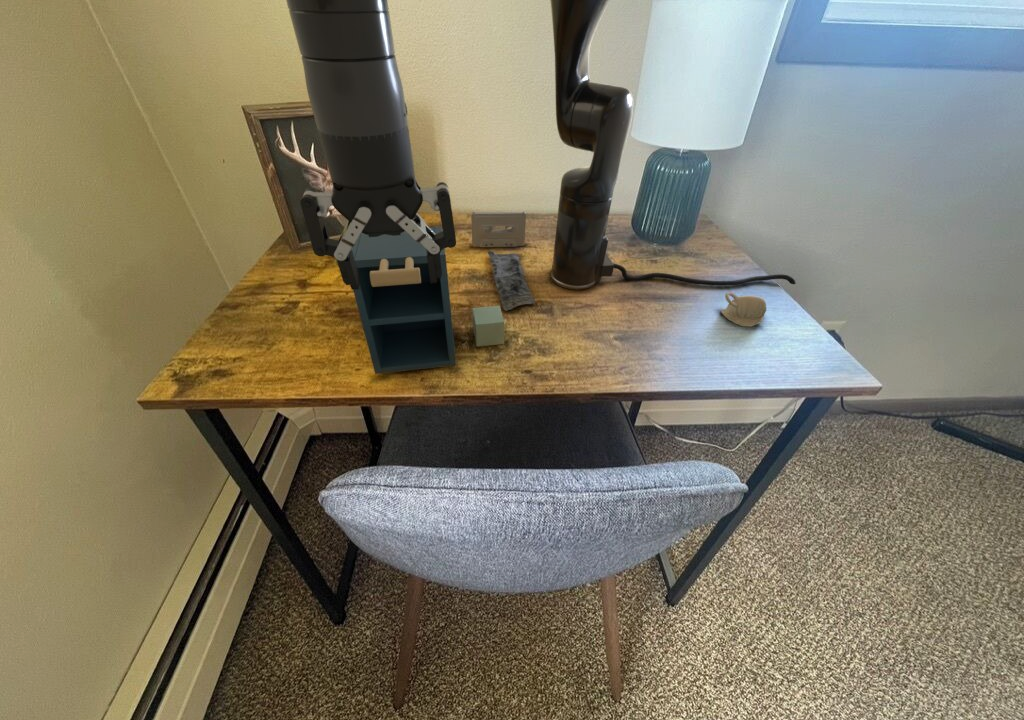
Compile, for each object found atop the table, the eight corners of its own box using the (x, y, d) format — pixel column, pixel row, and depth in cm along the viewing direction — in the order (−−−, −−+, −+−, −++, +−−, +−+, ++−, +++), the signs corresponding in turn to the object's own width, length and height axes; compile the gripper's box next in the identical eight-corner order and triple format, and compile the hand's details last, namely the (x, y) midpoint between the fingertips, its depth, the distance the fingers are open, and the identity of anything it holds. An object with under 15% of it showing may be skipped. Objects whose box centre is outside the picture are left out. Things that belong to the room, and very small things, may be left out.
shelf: (353, 227, 56) (338, 277, 45) (441, 222, 58) (447, 269, 46) (379, 335, 68) (372, 397, 56) (451, 329, 69) (459, 387, 58)
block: (499, 327, 70) (499, 305, 67) (504, 344, 67) (504, 322, 64) (473, 329, 70) (472, 307, 67) (476, 346, 66) (475, 324, 63)
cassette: (472, 247, 91) (470, 214, 86) (472, 244, 93) (470, 211, 87) (524, 247, 92) (526, 214, 87) (524, 243, 94) (525, 210, 88)
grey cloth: (536, 309, 74) (536, 300, 73) (499, 312, 74) (499, 302, 72) (518, 256, 90) (518, 247, 88) (487, 257, 89) (487, 248, 87)
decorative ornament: (764, 329, 72) (779, 304, 68) (715, 322, 73) (727, 297, 69) (759, 316, 75) (772, 291, 71) (712, 309, 76) (723, 285, 72)
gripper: (262, 134, 31) (324, 308, 42) (449, 130, 33) (461, 296, 44) (283, 111, 36) (334, 270, 47) (443, 109, 38) (455, 261, 49)
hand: (395, 282), depth 46 cm, fingers open, 8 cm apart
